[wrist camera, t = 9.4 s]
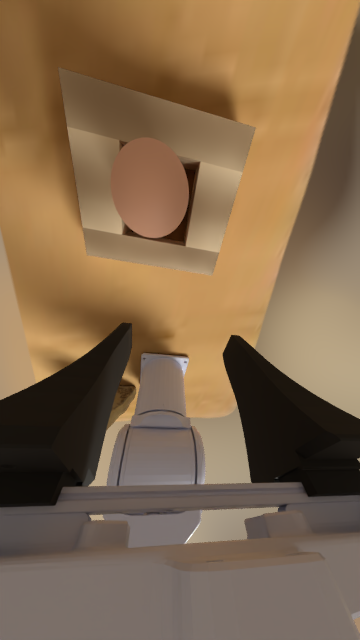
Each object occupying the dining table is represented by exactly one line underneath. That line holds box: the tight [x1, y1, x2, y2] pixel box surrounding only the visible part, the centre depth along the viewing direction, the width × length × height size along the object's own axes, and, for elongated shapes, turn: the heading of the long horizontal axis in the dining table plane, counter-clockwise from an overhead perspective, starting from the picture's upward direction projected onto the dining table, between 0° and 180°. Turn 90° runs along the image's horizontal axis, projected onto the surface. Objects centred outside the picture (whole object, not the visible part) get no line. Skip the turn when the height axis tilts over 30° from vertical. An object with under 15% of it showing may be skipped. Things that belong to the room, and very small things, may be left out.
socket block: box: [58, 67, 256, 275], centre depth 13 cm, size 10×12×3 cm
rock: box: [106, 386, 136, 430], centre depth 29 cm, size 11×9×10 cm
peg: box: [110, 137, 189, 238], centre depth 11 cm, size 4×4×8 cm
